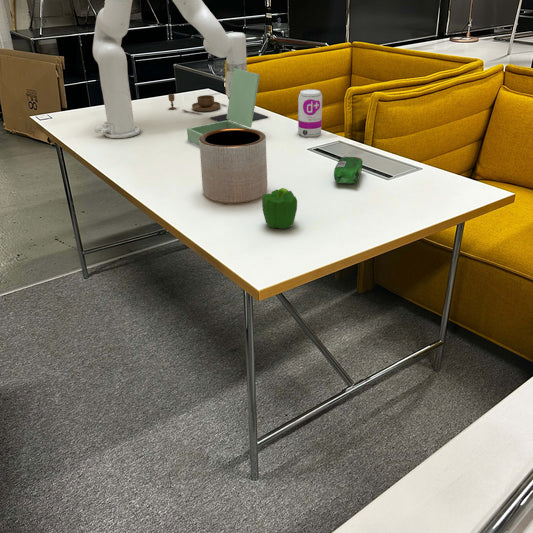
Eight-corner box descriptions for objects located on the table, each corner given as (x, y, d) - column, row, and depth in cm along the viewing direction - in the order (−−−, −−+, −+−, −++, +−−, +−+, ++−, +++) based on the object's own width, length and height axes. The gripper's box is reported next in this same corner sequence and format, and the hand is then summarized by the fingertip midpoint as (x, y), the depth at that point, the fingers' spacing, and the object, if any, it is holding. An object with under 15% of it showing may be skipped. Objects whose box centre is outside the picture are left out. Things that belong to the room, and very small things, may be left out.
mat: (229, 125, 211) (229, 124, 211) (210, 118, 221) (210, 117, 221) (267, 117, 220) (267, 116, 220) (247, 110, 230) (247, 109, 230)
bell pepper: (259, 220, 137) (258, 181, 132) (291, 216, 139) (291, 178, 134) (267, 234, 130) (266, 194, 125) (300, 230, 132) (301, 191, 127)
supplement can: (321, 137, 196) (323, 94, 188) (298, 137, 196) (298, 94, 188) (320, 131, 203) (321, 88, 195) (297, 131, 203) (298, 89, 195)
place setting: (204, 115, 225) (203, 100, 222) (167, 109, 235) (165, 95, 232) (229, 106, 238) (229, 91, 235) (193, 100, 247) (192, 87, 244)
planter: (244, 210, 142) (241, 151, 135) (189, 197, 151) (184, 140, 143) (279, 188, 155) (279, 132, 148) (227, 177, 164) (224, 124, 156)
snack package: (330, 188, 155) (331, 170, 152) (339, 169, 168) (340, 152, 165) (356, 190, 153) (357, 172, 150) (363, 170, 166) (364, 154, 163)
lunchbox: (209, 152, 184) (208, 138, 182) (188, 142, 194) (186, 128, 192) (250, 142, 192) (250, 128, 190) (228, 133, 203) (227, 120, 200)
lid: (258, 74, 183) (260, 74, 184) (233, 68, 194) (235, 68, 194) (249, 127, 190) (251, 127, 190) (226, 118, 200) (228, 118, 200)
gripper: (216, 66, 215) (219, 112, 224) (241, 72, 203) (243, 121, 212) (232, 63, 219) (234, 109, 228) (258, 69, 207) (259, 118, 216)
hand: (239, 114), depth 220 cm, fingers open, 6 cm apart
